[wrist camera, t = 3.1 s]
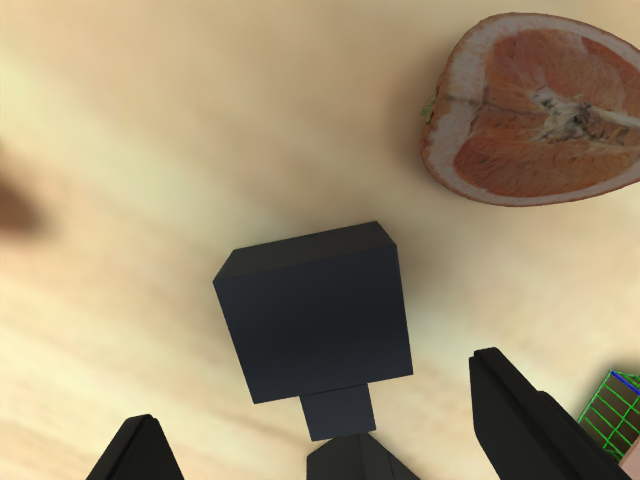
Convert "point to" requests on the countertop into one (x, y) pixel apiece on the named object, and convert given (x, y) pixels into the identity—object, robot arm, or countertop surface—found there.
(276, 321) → the tab pad
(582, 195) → the fruit slice
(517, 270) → the countertop surface
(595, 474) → the robot arm
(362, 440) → the notch pad
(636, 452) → the house
